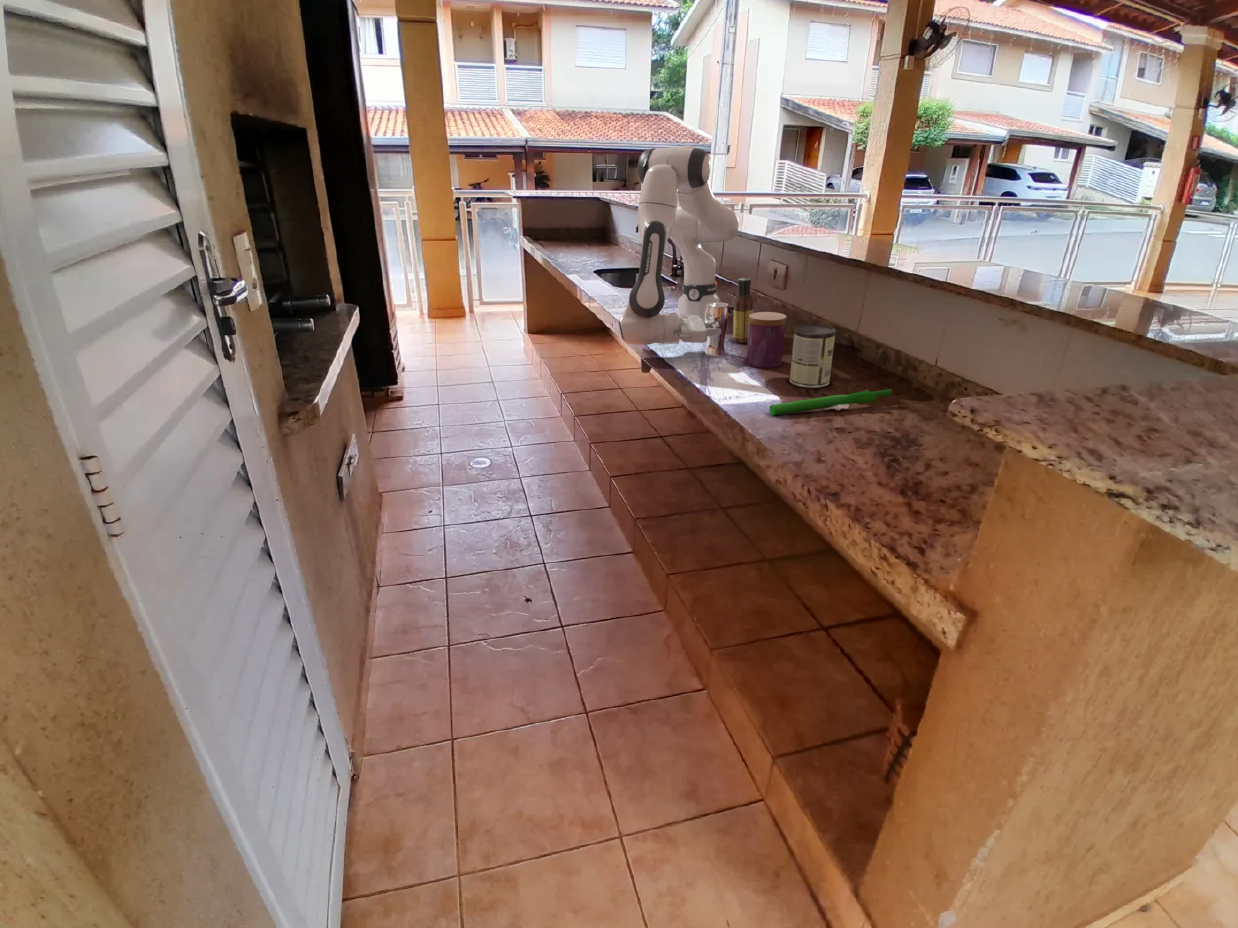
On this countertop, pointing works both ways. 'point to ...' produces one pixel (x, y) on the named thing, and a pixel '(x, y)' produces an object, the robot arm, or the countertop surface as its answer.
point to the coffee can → (812, 355)
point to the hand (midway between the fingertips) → (718, 327)
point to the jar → (765, 339)
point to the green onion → (828, 402)
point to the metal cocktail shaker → (716, 319)
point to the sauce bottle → (742, 311)
